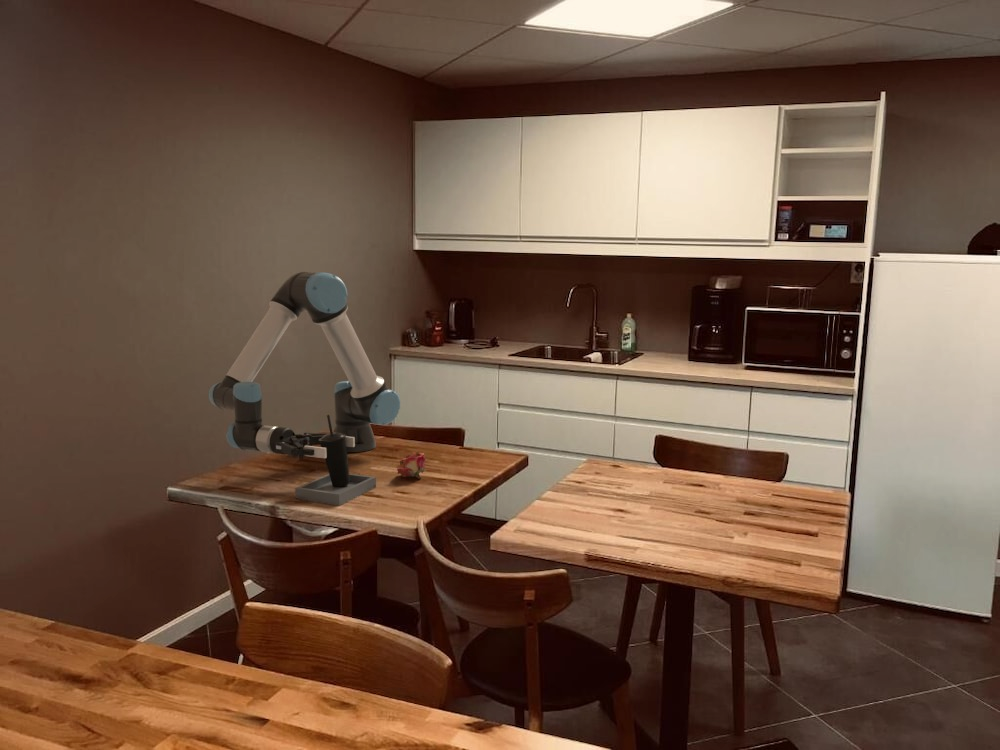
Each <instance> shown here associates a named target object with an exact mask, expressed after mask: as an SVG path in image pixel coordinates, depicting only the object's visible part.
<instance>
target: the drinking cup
mask: <svg viewBox="0 0 1000 750" xmlns="http://www.w3.org/2000/svg"><path fill="white" fill-rule="evenodd" d="M326 417H327V423H328V428H329V432H328V433H329V434H326V435H324V436H323V437H322V438H320V439H319V442H320V444H321V445H320V447H323V448H326V453H327V458H324V461H325V464H326V468H327V471H328V474H329V475H330V478H331V482H332V485H333V487H340V486H344V485H347V484H349V483H350V478H349V474H350V470H349V469H350V467H349V459H348V452H347V447H346V434H342V433H339V432H334V431H333V428H332V426H333V425H332V423H331V422H332V421H331V417H330V415H329V414H327V415H326Z"/></svg>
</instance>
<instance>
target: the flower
mask: <svg viewBox="0 0 1000 750" xmlns="http://www.w3.org/2000/svg"><path fill="white" fill-rule="evenodd" d="M424 455H425V452H423V453H419V451H413V452H412V453H411V454H407V455H406V456H405V457H404V458H401V459H400V460H399V466H401V467H397V469H396V470H397V474H398V475H399V474H400V475H401V476H402V478H409V477H413V476H415V477H417V479H418V480H420V479H422V478H421V476H420V473H422V474H423V473H425V472H426V471H427V469H425V467H426V466H425V463H426V456H424Z"/></svg>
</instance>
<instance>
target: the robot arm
mask: <svg viewBox="0 0 1000 750" xmlns="http://www.w3.org/2000/svg"><path fill="white" fill-rule="evenodd" d="M346 286H347V285H346V284H345V283H344V281H343V280H342V279H341V278H340V277H339V276H338V275H335V274H332V273H329V272H325V271H323V272H322V271H321V272H320V271H319V272H311V271H309V272H308V271H299V272H297V273H294V274H292V275H291V276H289V277H288V278H287V279H286V280H285V281H284V282H283V283H282V284H281V285H280V286H279V288H278V289H277V291H275V294H273V297H272V298H271V299H270V301H269V302H268V304H269V309H268V311H267V312H266V313H265V315H264V317H263V318H262V320H260V323H258V326H256V329H255V330H254V332H253V334H252V335H251V336H250V338H249V340H248V341H247V342H246V344H245V345H244V347H243V349H242V350H241V352H240V354H239V355H238V356H237V358H236V359H235V361H234V362H233V364H232V366H231V367H230V368H229V370H228V371H227V373H226V374H225V376H224V377H223V379H222V381H221V382H217V383H215V384H213V385H212V386H211V387H210V389H209V390H208V399H209V402H210V403H211V404H212V405H213V406H215V407H216V408H218V409H220V410H225V411H229V412H232V413H233V415H234V422H232V423H231V424H230V425H229V426H228V428H227V432H226V434H225V435H226V437H225V438H226V442H227V443H228V445H229V446H230V447H232V448H234V449H240V450H242V451H243V450H244V451H253V452H262V453H266V454H267V455H271V454H277V455H278V454H279V455H287V456H290V457H291V458H298V459H300V460H303V459H304V456H305V457H311V458H318V459H325V458H327V453H326V448H323V447H321V444H320V442H319V439H320V438H322V437H323V436H324V435H326V434H329V433H330V432H324V433H323V432H315V433H314V432H313V433H312V432H311V433H310V432H303V434H302V433H297V434H296V433H295V432H294V430H293V429H292V428H291V427H290V428H289V427H281V426H276V425H275V426H274V425H263V414H262V413H263V410H262V402H263V400H262V398H263V395H262V389H261V385H260V383H258V382H255V381H254V380H255V378H256V377H257V375H258V373H259V372H260V371H261V369H262V367H264V364H265V362H267V360H268V359H269V357H270V355H271V353H272V352H273V351H274V349H276V348H275V347H276V346H277V345H278V343H279V341H280V340H281V339H282V337H283V335H284V334H285V332H286V330H287V329H288V328H289V325H291V323H292V322H293V321H297V320H298V318H299V317H300V315H301V314H302V313H304V312H305V311H307V313H308V315H309V317H310V318H311V319H310V320H311V321H312V323H313V324H315V325H317V326H320V328H321V329H322V331H323V333H324V335H325V338H326V339H327V341H328V344H329V345H330V347H331V349H332V351H333V352H334V354H335V357H336V359H337V361H338V362H339V364H340V366H341V369H342V371H343V372H344V374H345V376H346V377H347V379H348V380H345V381H338V382H336V384H334V390H333V394H334V395H333V396H334V418H335V419H334V420H335V421H334V423H335V424H334V429H333V432H339V433H342V434H346V447H347V453H360V452H366V451H371V450H374V449H375V448H376V446H377V445H376V444H377V443H376V438H375V435H374V432H373V429H372V426H371V424H374V425H379V426H385V425H389V424H391V423H392V422H394V421H395V420H396V418H397V417H398V415H399V412H400V409H401V403H402V402H401V398H400V396H399V394H398V393H397V392H396V391H394V390H392V389H389V387H388V385H387V383H386V381H385V379H384V377H382V376H380V375H377V374H376V371H375V370H374V367H373V365H372V363H371V362H370V360H369V357H368V355H367V353H366V351H365V349H364V347H363V345H362V343H361V341H360V339H359V337H358V335H357V333H356V331H355V328H354V327H353V325H352V323H351V320H350V319H349V316H348V315H347V311H348V309H349V305H348V304H347V301H348V299H347V298H348V289H347V287H346ZM318 445H319V446H318Z"/></svg>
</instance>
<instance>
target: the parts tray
mask: <svg viewBox="0 0 1000 750" xmlns="http://www.w3.org/2000/svg"><path fill="white" fill-rule="evenodd" d="M376 477H377V476H371V475H363V474H355V473H349V478H350V483H349V484H347V485H344V486H340V487H333V485H332V482H331V478H330V475H329V473H328V474H325V475H323V476H320V477H318V478H316V479H314V480H312V481H311V480H310V481H309V482H307V483H303V484H302V485H299V486H297V487H295V488H294V491H295V499H296V498H298V499H297V500H300V499H303V500H302V501H306V500H309V501H308V502H313V501H316V502H315V503H319V502H320V504H326V503H327V504H328V505H331V506H333V505H334V506H341V505H344V504H345V503H347V502H350V501H351V500H353V499H356V498H357V496H358V497H359V496H362V495H364V494H366V493H368V492H369V490H370V491H372V490H374V489H376V488H377V478H376ZM375 487H376V488H375ZM373 488H374V489H373ZM371 489H372V490H371ZM367 491H368V492H367ZM365 492H366V493H365Z"/></svg>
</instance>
